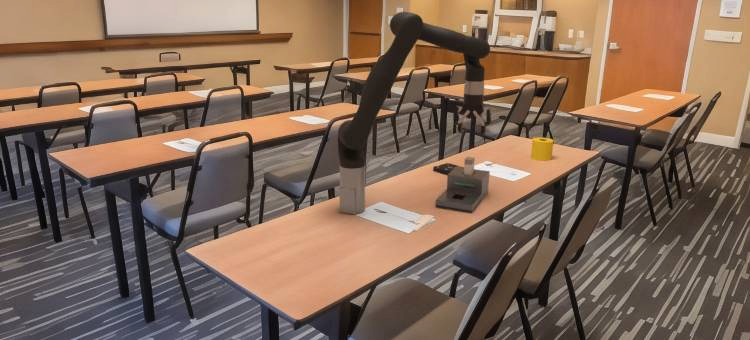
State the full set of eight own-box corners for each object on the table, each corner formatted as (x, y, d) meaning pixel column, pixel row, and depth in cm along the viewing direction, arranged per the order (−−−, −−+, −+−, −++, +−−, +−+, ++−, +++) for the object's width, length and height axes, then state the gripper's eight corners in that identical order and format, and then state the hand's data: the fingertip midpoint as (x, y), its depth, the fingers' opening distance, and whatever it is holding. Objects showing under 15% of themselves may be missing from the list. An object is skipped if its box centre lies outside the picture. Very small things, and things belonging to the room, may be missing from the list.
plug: (470, 179, 217) (472, 160, 214) (463, 178, 218) (464, 159, 215) (473, 176, 220) (474, 157, 218) (466, 175, 221) (467, 156, 219)
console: (471, 213, 201) (473, 190, 198) (435, 207, 206) (436, 184, 204) (488, 192, 224) (489, 171, 221) (454, 187, 229) (456, 166, 226)
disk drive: (432, 172, 251) (457, 179, 241) (432, 166, 250) (457, 173, 240) (447, 168, 258) (472, 175, 247) (447, 162, 257) (472, 169, 247)
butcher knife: (403, 229, 187) (403, 226, 186) (422, 215, 199) (422, 213, 199) (416, 232, 184) (416, 229, 184) (434, 218, 197) (435, 215, 196)
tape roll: (554, 161, 270) (556, 142, 267) (533, 160, 270) (535, 142, 267) (548, 155, 279) (550, 137, 277) (528, 155, 280) (530, 137, 277)
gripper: (453, 92, 208) (450, 133, 213) (490, 95, 203) (487, 137, 208) (458, 89, 215) (456, 130, 220) (494, 92, 209) (491, 133, 214)
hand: (471, 133), depth 214 cm, fingers open, 8 cm apart
